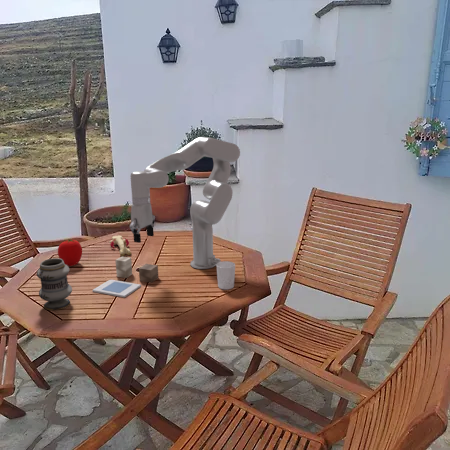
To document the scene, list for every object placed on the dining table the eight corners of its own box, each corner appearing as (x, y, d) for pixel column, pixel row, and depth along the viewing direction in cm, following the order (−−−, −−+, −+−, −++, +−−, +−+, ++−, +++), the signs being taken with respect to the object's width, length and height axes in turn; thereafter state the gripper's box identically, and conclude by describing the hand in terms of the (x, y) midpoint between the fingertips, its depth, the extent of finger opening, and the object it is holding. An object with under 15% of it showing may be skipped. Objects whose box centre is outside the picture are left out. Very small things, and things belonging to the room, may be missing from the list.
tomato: (64, 270, 207) (61, 245, 203) (56, 264, 214) (53, 239, 211) (87, 265, 214) (85, 239, 210) (78, 259, 222) (75, 235, 218)
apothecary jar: (41, 314, 164) (35, 269, 159) (40, 301, 175) (34, 258, 170) (75, 308, 169) (70, 264, 164) (72, 296, 180) (67, 254, 175)
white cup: (222, 291, 182) (221, 269, 179) (213, 285, 189) (213, 263, 186) (238, 287, 186) (238, 265, 183) (229, 281, 192) (229, 260, 190)
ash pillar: (132, 274, 202) (131, 257, 200) (126, 278, 197) (124, 261, 195) (123, 272, 204) (122, 256, 202) (116, 276, 199) (115, 260, 197)
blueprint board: (141, 286, 188) (141, 284, 188) (124, 297, 178) (124, 295, 177) (110, 281, 194) (110, 279, 194) (92, 291, 183) (92, 289, 183)
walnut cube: (158, 277, 197) (157, 265, 196) (151, 282, 192) (150, 270, 190) (147, 276, 199) (146, 263, 198) (139, 281, 194) (138, 268, 193)
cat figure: (135, 256, 228) (125, 240, 250) (135, 241, 225) (124, 225, 247) (116, 259, 225) (107, 242, 246) (115, 244, 222) (106, 227, 243)
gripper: (145, 195, 195) (148, 232, 200) (121, 204, 180) (124, 243, 185) (159, 197, 192) (162, 234, 197) (136, 205, 177) (139, 246, 182)
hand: (144, 239), depth 191 cm, fingers open, 9 cm apart
